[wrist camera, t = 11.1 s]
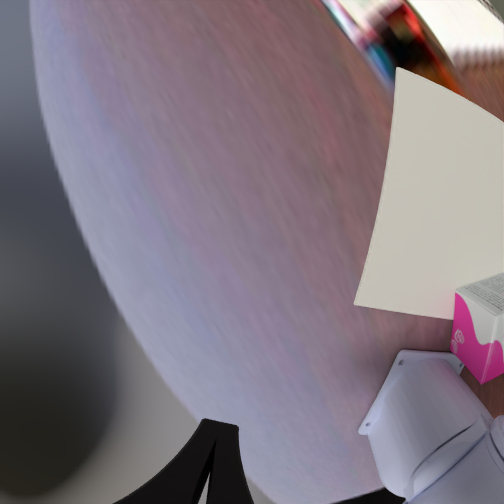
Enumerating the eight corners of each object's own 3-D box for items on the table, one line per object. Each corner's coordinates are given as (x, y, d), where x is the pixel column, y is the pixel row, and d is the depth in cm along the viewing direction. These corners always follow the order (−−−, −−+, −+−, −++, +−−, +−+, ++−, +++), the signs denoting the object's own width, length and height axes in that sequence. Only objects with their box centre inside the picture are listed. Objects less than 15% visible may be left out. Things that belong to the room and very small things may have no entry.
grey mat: (508, 325, 18) (510, 326, 17) (353, 303, 18) (354, 304, 18) (542, 154, 14) (544, 154, 14) (395, 68, 15) (397, 67, 14)
